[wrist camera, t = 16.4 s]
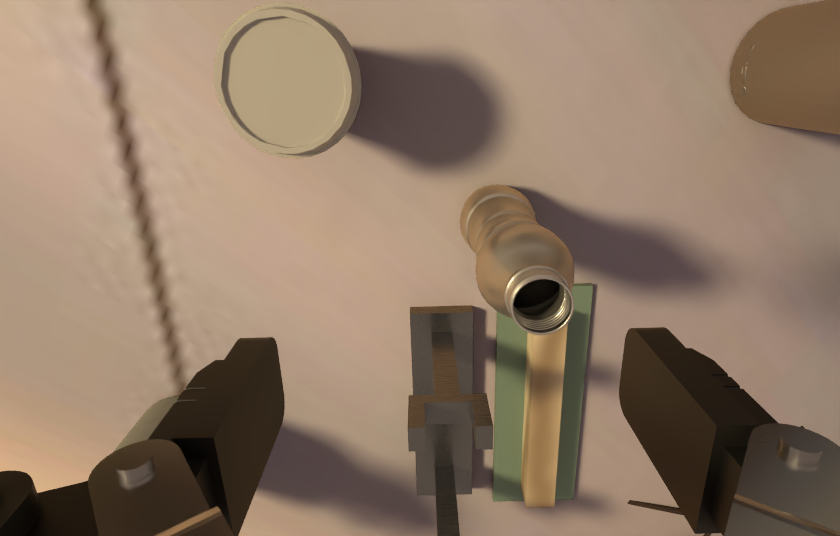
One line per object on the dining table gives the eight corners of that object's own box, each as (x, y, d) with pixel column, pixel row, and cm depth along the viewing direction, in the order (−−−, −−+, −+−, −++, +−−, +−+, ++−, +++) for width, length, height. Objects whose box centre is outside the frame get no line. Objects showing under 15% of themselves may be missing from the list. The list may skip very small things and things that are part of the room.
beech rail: (559, 305, 50) (567, 319, 48) (547, 486, 58) (554, 507, 55) (528, 306, 50) (535, 320, 48) (520, 486, 58) (525, 507, 55)
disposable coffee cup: (382, 132, 45) (370, 151, 34) (275, 146, 46) (228, 170, 34) (364, 11, 42) (344, -12, 31) (248, 28, 42) (187, 11, 31)
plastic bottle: (497, 164, 46) (551, 225, 28) (544, 219, 48) (624, 311, 29) (443, 212, 48) (458, 300, 29) (490, 263, 50) (533, 378, 31)
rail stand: (471, 305, 51) (493, 401, 36) (470, 484, 59) (488, 624, 44) (410, 307, 51) (406, 404, 36) (417, 485, 59) (416, 626, 44)
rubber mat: (591, 283, 50) (593, 285, 50) (571, 495, 59) (573, 499, 59) (497, 285, 50) (498, 288, 50) (492, 497, 59) (493, 501, 59)
